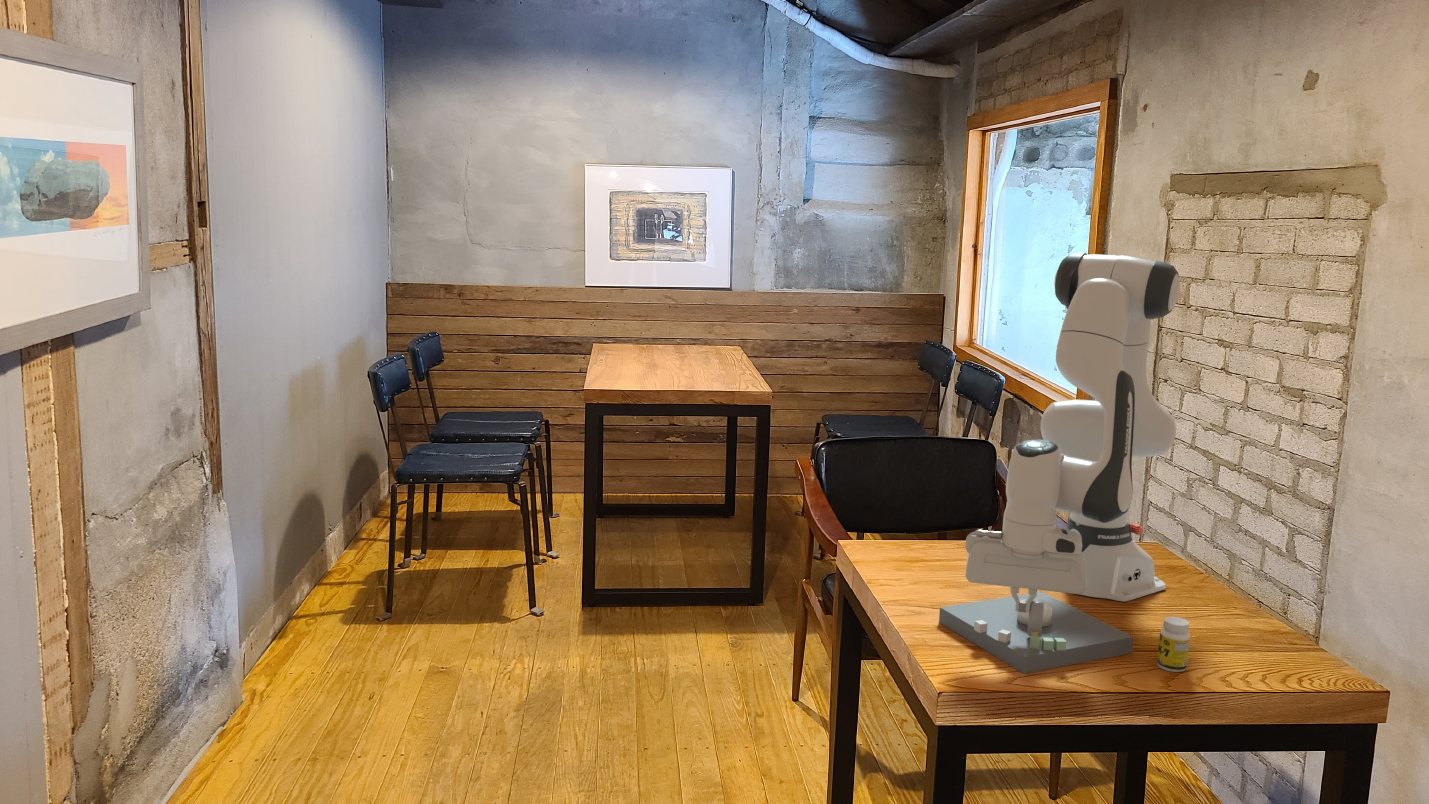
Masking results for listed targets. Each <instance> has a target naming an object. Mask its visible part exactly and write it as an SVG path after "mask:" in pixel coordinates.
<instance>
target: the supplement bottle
mask: <svg viewBox="0 0 1429 804" xmlns="http://www.w3.org/2000/svg"><path fill="white" fill-rule="evenodd" d="M1189 628H1190V622H1189V621H1188V620H1186V619H1184V618H1182V617H1177V616H1167V617H1164V619H1163V623H1162V628H1161V629H1160V632H1159V641H1158V649H1157V659H1156V665H1157V666H1158V667H1159V668H1160V669H1162V670H1164V671H1167V672H1171V673H1182V672H1185V671H1186V670H1187V666H1188V659H1189V650H1190V648H1189V647H1190V642H1191V634H1190V633H1189V630H1190V629H1189Z"/></svg>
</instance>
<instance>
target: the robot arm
mask: <svg viewBox="0 0 1429 804" xmlns="http://www.w3.org/2000/svg"><path fill="white" fill-rule="evenodd" d="M1179 275H1180V274H1179V272H1178V271H1177V269H1176V267H1175V265H1172V264H1171V263H1167V262H1165V261H1161V260H1156V261H1154V260H1150V259H1145V258H1141V257H1136V256H1135V257H1134V256H1129V255H1125V254H1123V255H1121V254H1120V255H1113V254H1088V253H1087V252H1076V253H1071V254H1068V255H1067V256H1065V258H1063V259H1062V260H1061V262H1060V263H1059V266H1058V268H1057V270H1056V272H1055V276H1054V282H1053V283H1054V284H1053V285H1054V294H1055V298H1057V300H1058V301H1059V303H1060V304H1061V305H1063V306H1064V307H1066V309H1067V310H1066V313H1065V316H1064V319H1063V321H1062V326H1061V330H1060V332H1059V337H1058V339H1057V340H1058V341H1057V344H1056V351H1055V362H1056V366H1057V369H1058V371H1059V373H1060V374H1061V375H1062V377H1063V378H1064V379H1065V380H1066V381H1067V382H1069V384H1071V385H1072V386H1074V387H1075V388H1077V389H1079V390H1081V391H1082V392H1083V393H1084V394H1086V395H1089V396H1091V397H1092V398H1093V399H1094V400H1093V399H1092V400H1090V399H1074V398H1073V399H1067V400H1065V399H1064V400H1060V401H1054V402H1051V403H1050V404H1049V405H1048V406H1047V407H1046V409H1045V410H1044V412H1043V414H1042V416H1041V418H1040V424H1039V426H1040V433H1041V436H1042V439H1027V440H1023V441H1020V442H1019V443H1017V444H1016V445H1015V446H1014V448H1013V450H1012V453H1011V455H1010V456H1011V457H1010V460H1009V464H1008V469H1007V475H1006V485H1005V495H1006V503H1007V504H1006V507H1005V510H1004V512H1003V520H1002V531H994V530H991V531H990V530H989V531H988V530H982V529H976V530H975V531H972V532H970V533H969V534H967V536H966V538H965V550H966V552H967V554H968V555H967V560H966V564H965V572H964V575H965V576H964V577H965V578H966V580H967V581H968V582H969V583H970V584H971V583H973V584H981V585H990V586H1001V587H1008V588H1009V587H1010V594H1011V596H1013V598H1014V600H1015V602H1016V605H1015V611H1016V612H1025V613H1028V612H1029V604H1030V603H1031V602H1032V601H1033V600H1034V598H1035V597H1036V596H1037V592H1038V591H1045V592H1053V593H1054V592H1055V593H1064V594H1065V593H1066V594H1075V595H1080V596H1084V597H1091V598H1099V599H1108V600H1113V601H1117V602H1129V601H1132V600H1135V599H1138V598H1141V597H1145V596H1147V595H1152V594H1155V593H1157V592H1160V591H1163V590H1166V589H1167V587H1166V583H1165V581H1163V580H1161V579H1160V578H1158V577H1157V576H1155V562H1154V560H1153V558H1152V557H1151V555H1149V553H1147V552H1146V551H1145V550H1144V549H1143V548H1141V547H1140V546H1139V545H1138V544H1137V543H1136V542H1135V541H1134V540H1133V536H1132V534H1134V535H1137V536H1140V535H1142V533H1143V529H1144V528H1143V526H1142V525H1140V524H1137V523H1131V524H1130V523H1129V522H1128V519H1129V518H1128V516H1129V509H1130V507H1131V504H1132V499H1133V490H1134V488H1133V471H1132V470H1133V468H1132V467H1133V466H1132V463H1133V461H1132V460H1133V458H1136V459H1137V458H1138V459H1139V458H1149V457H1156V456H1163V455H1165V454H1166V453H1167V452H1168V451H1169V450H1170V449H1171V447H1172V446H1173V444H1174V442H1175V440H1176V434H1177V427H1176V422H1175V419H1174V417H1173V415H1172V414H1171V413H1170V412H1169V410H1168V409H1166V407H1164V406H1163V405H1162V404H1161V403H1160V402H1158V400H1157V399H1156V398H1155V396H1154V395H1153V393H1152V392H1151V389H1150V387H1149V383H1148V379H1147V362H1148V351H1149V343H1150V335H1151V326H1152V324H1151V323H1152V320H1155V319H1156V320H1157V319H1161V318H1162V319H1163V318H1164V317H1166V316H1167V315H1169V314H1171V313H1172V311H1173V309H1174V308H1175V305H1176V304H1177V302H1178V300H1179V298H1180V293H1181V282H1180V281H1181V280H1180V277H1179ZM1056 510H1058V511H1062V512H1066V513H1070V515H1069V516H1068V517H1067V522H1066V528H1065V527H1063V526H1061V525H1058V516H1057V513H1056ZM1020 589H1026V590H1027V591H1028V593H1027V594H1029V595H1028V596H1027V598H1026V599H1025V600H1021V599H1019V597H1018V595H1019V593H1020Z"/></svg>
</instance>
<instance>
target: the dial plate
mask: <svg viewBox="0 0 1429 804" xmlns="http://www.w3.org/2000/svg"><path fill="white" fill-rule="evenodd" d="M1017 595H1018V597H1019V599H1021V600H1024V599H1026V598H1027V596H1028V595H1029V594H1028V593H1023V594H1017ZM1034 599H1038V600H1042V601H1045V602H1048V603H1050V604H1051V605H1052V606H1053V610H1052V621H1051V625H1049V626H1046V627H1042V635H1041V636H1040V637H1036V636H1029V635H1028V634H1027V630H1028V625H1025V624H1022V623H1020V622H1019V621H1018V620H1017V612H1016V611H1015V605H1016V602H1015V600H1014V598H1013V596H1012V595H1010V596H1003V597H998V598H991V599H986V600H985V599H984V600H977V601H971V602H966V603H959V604H953V605H952V604H951V605H947V606H946V605H945V606H940V607H939V614H938V617H939V618H938V623H939V624H941V625H943V626H944V627H945V628H948V629H949V630H951V631H952V632H954V633H956V634H958V635H959V636H960V637H962V638H964V639H965V640H967V641H969V642H971V643H972V644H974V645H976V646H977V647H978V648H981V649H983V650H984V651H985V652H987V653H989V654H991V655H992V656H993V657H996V658H997V659H999V660H1001V661H1003V662H1004V663H1006V664H1008V665H1009V666H1011V667H1012V668H1014V669H1015V670H1017V671H1019V672H1021V673H1022V674H1024V675H1025V674H1029V673H1036V672H1041V671H1045V670H1051V669H1057V668H1060V667H1061V668H1062V667H1067V666H1071V665H1077V664H1082V663H1087V662H1094V661H1097V660H1103V659H1107V658H1113V657H1119V656H1123V655H1127V654H1128V655H1129V654H1132V653H1133V646H1134V636H1132V635H1130V634H1129V633H1126V632H1124V631H1122V630H1120V629H1119V628H1116V627H1114V626H1112V625H1110V624H1109V623H1105V622H1104V621H1102V620H1100V619H1098V618H1096V617H1094V616H1091V615H1090V614H1087V613H1086V612H1084V611H1081V610H1080V609H1077V608H1075V607H1073V606H1072V605H1069V604H1067V603H1065V602H1063V601H1062V600H1059V599H1057V598H1055V597H1053V596H1051V595H1049V594H1046V593H1045V592H1042V591H1037V596H1036V597H1035V598H1034Z"/></svg>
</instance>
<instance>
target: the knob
mask: <svg viewBox="0 0 1429 804" xmlns="http://www.w3.org/2000/svg"><path fill="white" fill-rule="evenodd" d="M1024 600H1025V599H1024ZM1052 610H1053V606H1052V605H1051V604H1050V603H1048V602H1045V601H1042V600H1038V599H1034V600H1033V601H1032V602H1031V603H1030V604H1029V612H1028V613H1025V612H1017V620H1018V621H1019V622H1020V623H1022V624H1025V625H1028V630H1027V634H1028V635H1029V636H1036V637H1040V636H1041V635H1042V627H1046V626H1049V625H1051V621H1052Z"/></svg>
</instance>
